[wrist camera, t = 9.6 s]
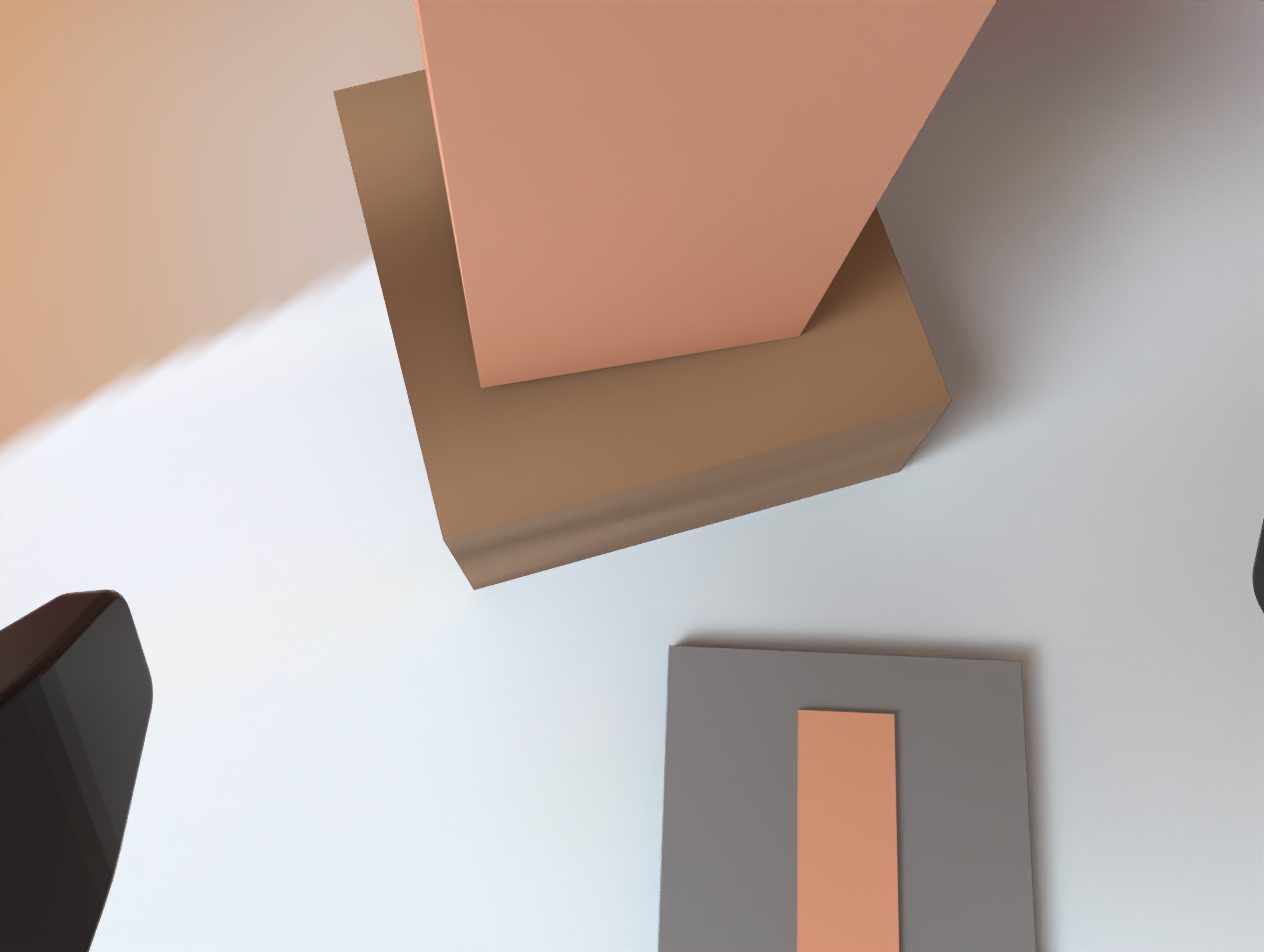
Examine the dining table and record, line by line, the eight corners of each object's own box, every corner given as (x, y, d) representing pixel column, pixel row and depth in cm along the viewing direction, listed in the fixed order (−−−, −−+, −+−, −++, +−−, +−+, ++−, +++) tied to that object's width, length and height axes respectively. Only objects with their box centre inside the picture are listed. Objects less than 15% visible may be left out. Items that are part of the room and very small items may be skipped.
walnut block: (895, 477, 22) (951, 401, 18) (476, 593, 21) (443, 539, 17) (763, 119, 24) (789, -18, 20) (381, 213, 23) (332, 91, 20)
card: (1039, 1184, 18) (1051, 1194, 18) (650, 1165, 18) (650, 1175, 18) (1013, 664, 20) (1023, 660, 20) (668, 649, 21) (670, 644, 20)
